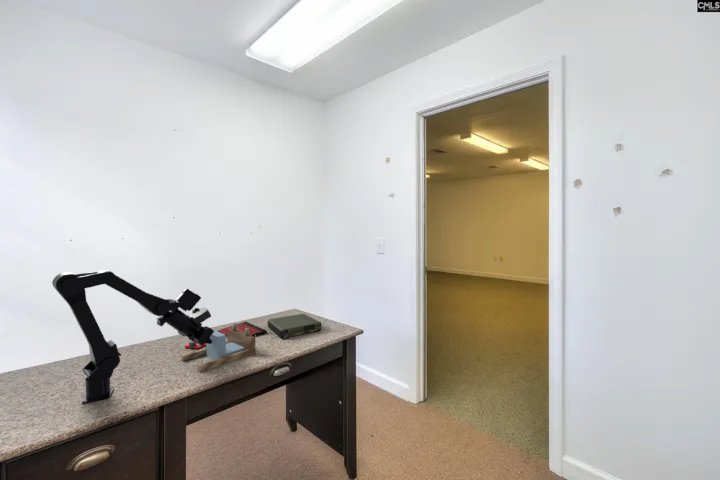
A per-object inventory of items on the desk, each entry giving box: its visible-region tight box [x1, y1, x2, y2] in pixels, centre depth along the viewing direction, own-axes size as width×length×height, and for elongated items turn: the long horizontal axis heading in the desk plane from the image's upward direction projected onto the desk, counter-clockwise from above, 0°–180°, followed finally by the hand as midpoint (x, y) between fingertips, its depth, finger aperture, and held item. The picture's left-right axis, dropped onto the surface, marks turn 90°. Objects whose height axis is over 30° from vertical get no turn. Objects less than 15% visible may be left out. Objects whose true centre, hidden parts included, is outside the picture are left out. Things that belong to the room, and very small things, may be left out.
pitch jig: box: [180, 322, 256, 373], centre depth 123 cm, size 22×18×10 cm
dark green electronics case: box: [267, 313, 322, 340], centre depth 156 cm, size 23×23×5 cm
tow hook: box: [184, 340, 206, 350], centre depth 135 cm, size 8×13×9 cm
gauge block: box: [205, 329, 245, 361], centre depth 125 cm, size 11×10×10 cm
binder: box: [217, 321, 268, 338], centre depth 152 cm, size 16×2×21 cm
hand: (211, 342), depth 120 cm, fingers closed
